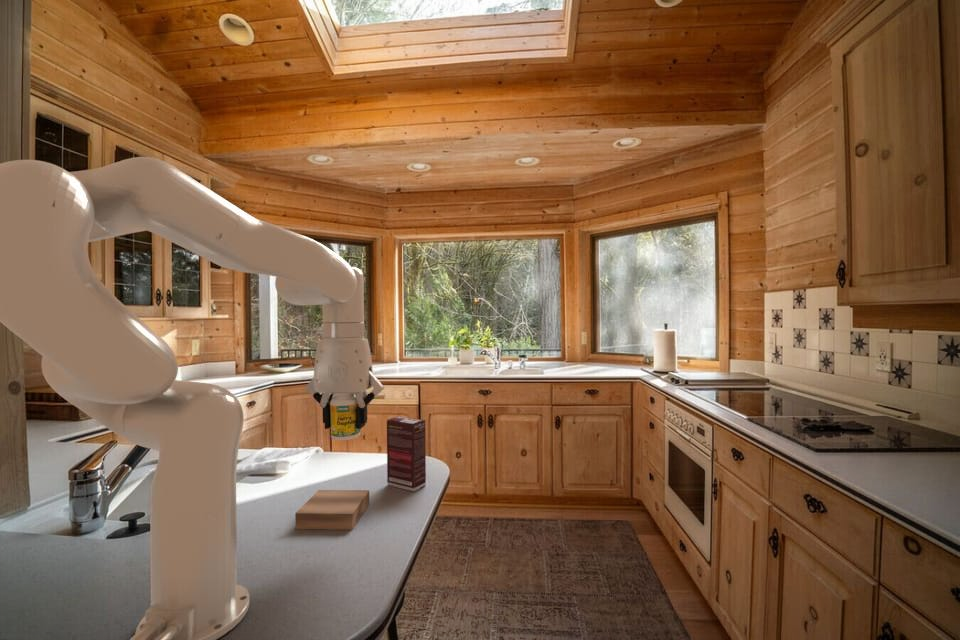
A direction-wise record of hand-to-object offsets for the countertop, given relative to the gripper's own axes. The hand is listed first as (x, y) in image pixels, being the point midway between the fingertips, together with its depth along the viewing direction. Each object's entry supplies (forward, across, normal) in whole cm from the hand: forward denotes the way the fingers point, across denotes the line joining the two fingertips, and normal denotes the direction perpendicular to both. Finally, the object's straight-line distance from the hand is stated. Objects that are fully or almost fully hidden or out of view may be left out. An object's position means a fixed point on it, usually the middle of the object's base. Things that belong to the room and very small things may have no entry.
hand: (345, 426), depth 81 cm
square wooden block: (+20, -4, +5) cm, 21 cm away
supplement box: (+20, +6, +21) cm, 30 cm away
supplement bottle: (+2, 0, 0) cm, 2 cm away
